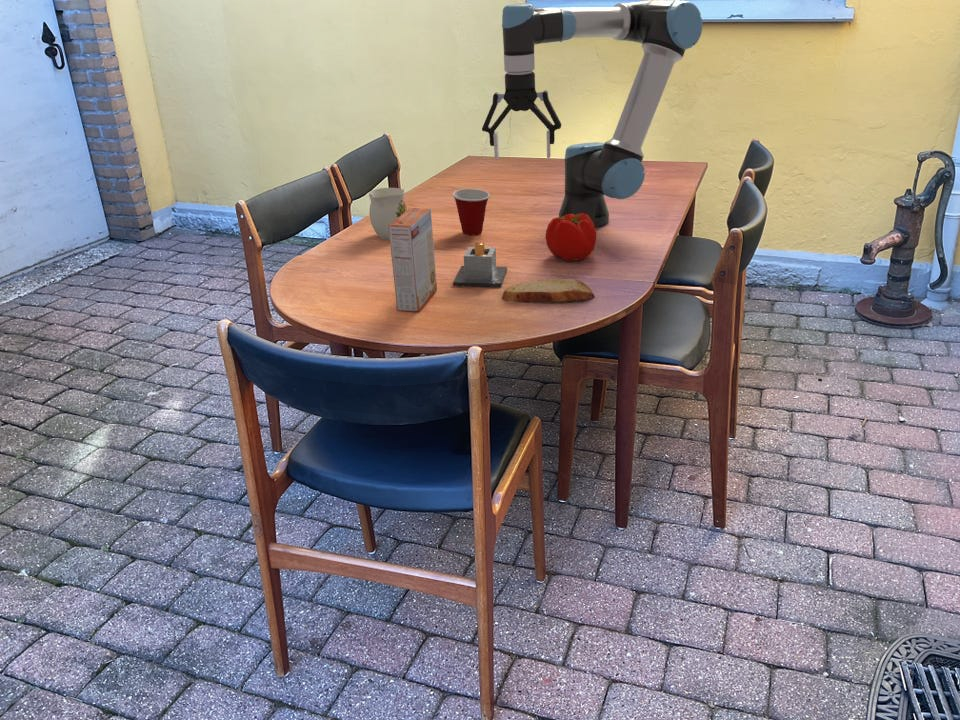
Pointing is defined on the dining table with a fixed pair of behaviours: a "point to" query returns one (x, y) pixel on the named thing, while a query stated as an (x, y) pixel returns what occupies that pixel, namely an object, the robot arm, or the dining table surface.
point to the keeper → (494, 282)
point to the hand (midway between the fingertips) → (522, 157)
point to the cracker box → (413, 259)
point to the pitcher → (386, 209)
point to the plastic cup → (471, 209)
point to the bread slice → (549, 291)
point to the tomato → (571, 236)
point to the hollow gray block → (480, 264)
